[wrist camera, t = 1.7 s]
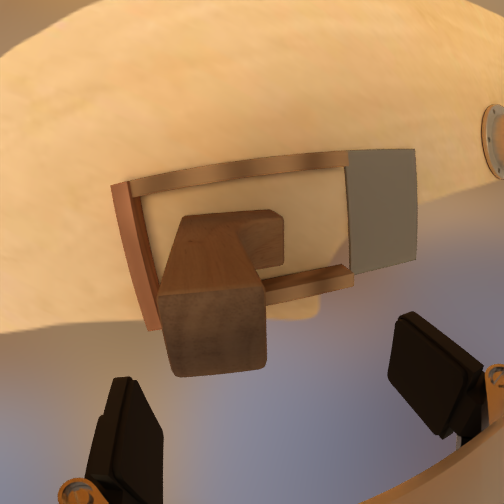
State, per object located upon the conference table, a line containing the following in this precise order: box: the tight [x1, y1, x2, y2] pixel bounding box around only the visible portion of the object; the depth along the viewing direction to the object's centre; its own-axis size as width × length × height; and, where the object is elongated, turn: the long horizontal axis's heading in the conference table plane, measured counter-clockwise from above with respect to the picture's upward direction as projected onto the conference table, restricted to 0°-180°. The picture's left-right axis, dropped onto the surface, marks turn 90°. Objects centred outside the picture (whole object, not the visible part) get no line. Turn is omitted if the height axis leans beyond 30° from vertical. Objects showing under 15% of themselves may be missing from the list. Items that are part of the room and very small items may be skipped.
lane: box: [110, 151, 354, 331], centre depth 27 cm, size 22×14×4 cm, turn 98°
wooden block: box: [156, 210, 284, 377], centre depth 21 cm, size 9×4×18 cm, turn 93°
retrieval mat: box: [344, 149, 417, 275], centre depth 31 cm, size 10×14×1 cm
